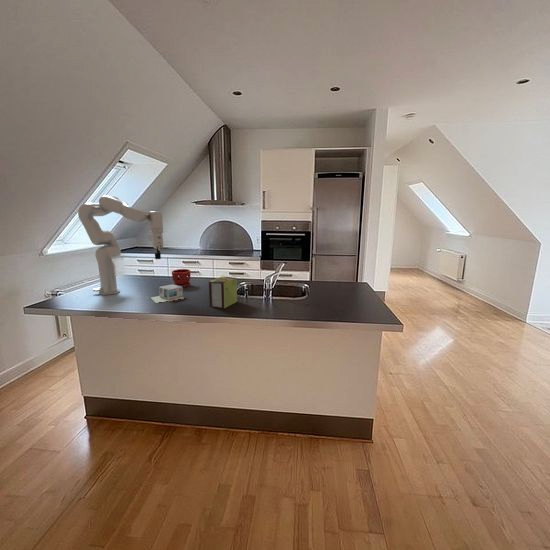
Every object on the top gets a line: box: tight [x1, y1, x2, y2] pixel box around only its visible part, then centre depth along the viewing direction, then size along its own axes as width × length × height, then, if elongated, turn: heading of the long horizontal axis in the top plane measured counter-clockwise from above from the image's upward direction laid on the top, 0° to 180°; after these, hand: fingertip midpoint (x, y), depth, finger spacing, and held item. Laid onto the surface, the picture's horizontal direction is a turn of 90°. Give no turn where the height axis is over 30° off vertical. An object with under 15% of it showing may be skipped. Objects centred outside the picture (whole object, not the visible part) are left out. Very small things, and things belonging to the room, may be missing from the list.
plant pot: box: [171, 268, 191, 288], centre depth 219 cm, size 13×13×12 cm
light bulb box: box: [158, 283, 184, 299], centre depth 190 cm, size 11×7×11 cm
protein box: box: [208, 275, 238, 309], centre depth 177 cm, size 10×15×16 cm
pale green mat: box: [150, 295, 185, 304], centre depth 188 cm, size 18×14×1 cm
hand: (157, 258), depth 192 cm, fingers closed
